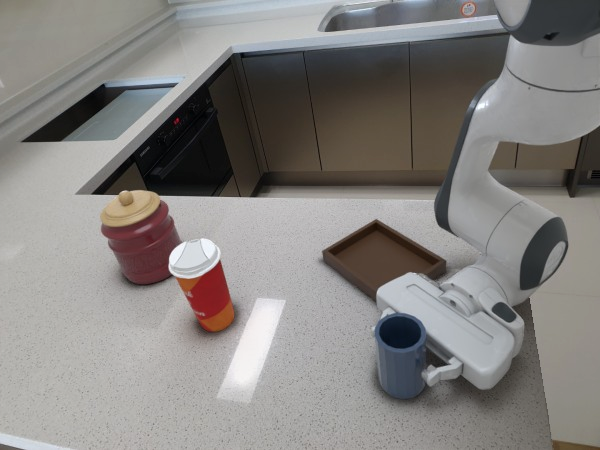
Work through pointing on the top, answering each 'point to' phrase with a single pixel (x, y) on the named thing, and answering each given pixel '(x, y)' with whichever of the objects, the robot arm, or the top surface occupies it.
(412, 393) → the tumbler
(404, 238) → the tray
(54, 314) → the top surface
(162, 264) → the kitchen canister
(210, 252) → the coffee cup
